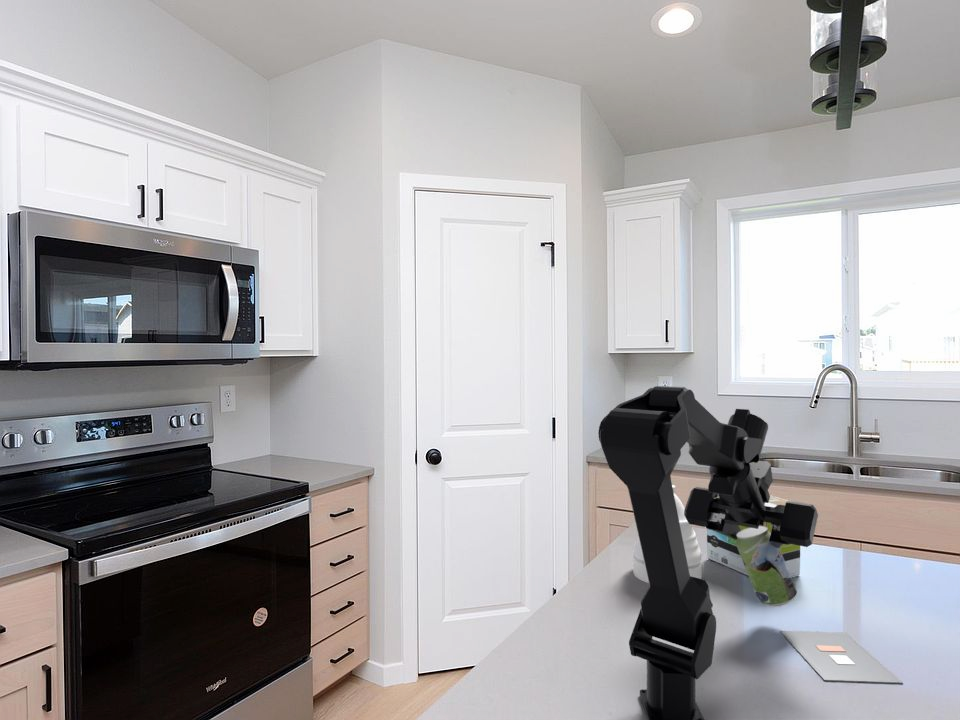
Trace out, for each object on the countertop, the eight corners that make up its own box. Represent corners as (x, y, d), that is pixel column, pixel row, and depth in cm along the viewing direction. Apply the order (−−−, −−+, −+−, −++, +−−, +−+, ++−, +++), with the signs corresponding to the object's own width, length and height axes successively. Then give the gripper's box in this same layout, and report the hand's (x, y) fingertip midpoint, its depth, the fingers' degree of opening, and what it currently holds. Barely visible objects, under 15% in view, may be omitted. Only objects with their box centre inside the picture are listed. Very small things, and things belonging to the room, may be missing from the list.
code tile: (902, 683, 79) (902, 681, 79) (824, 680, 80) (824, 679, 80) (846, 633, 93) (846, 632, 93) (779, 631, 94) (779, 630, 94)
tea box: (704, 559, 126) (705, 489, 126) (739, 552, 130) (739, 485, 130) (765, 585, 112) (766, 506, 112) (802, 576, 117) (802, 501, 116)
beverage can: (807, 603, 93) (789, 526, 94) (764, 614, 93) (746, 536, 94) (783, 592, 100) (766, 520, 101) (742, 602, 99) (726, 529, 100)
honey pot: (708, 589, 110) (708, 492, 110) (636, 585, 112) (636, 490, 112) (695, 565, 123) (695, 477, 123) (630, 561, 125) (630, 475, 125)
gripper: (815, 452, 88) (831, 512, 97) (691, 439, 101) (715, 493, 109) (800, 515, 83) (819, 573, 91) (671, 494, 95) (698, 547, 103)
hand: (759, 543), depth 99 cm, fingers closed on beverage can, 6 cm apart
